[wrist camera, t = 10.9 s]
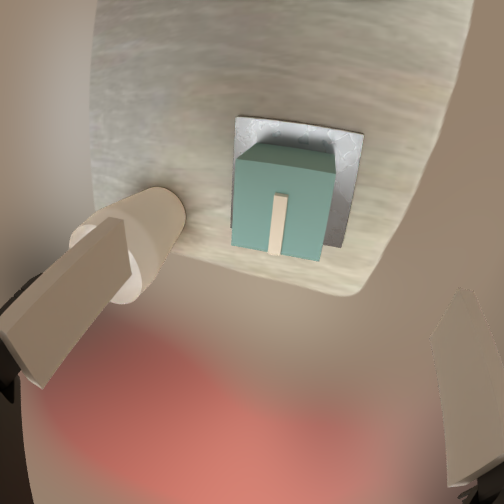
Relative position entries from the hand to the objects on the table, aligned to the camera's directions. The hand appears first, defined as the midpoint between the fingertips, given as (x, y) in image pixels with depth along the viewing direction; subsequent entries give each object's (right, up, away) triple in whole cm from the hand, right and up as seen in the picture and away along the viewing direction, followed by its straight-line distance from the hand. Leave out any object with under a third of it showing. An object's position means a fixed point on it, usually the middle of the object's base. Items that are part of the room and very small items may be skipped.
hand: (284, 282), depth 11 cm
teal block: (+3, +8, +18) cm, 20 cm away
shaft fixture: (+3, +8, +19) cm, 21 cm away
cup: (-12, +6, +25) cm, 29 cm away
